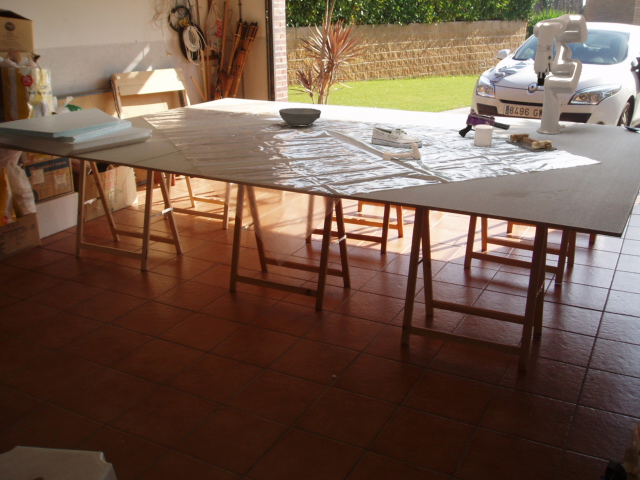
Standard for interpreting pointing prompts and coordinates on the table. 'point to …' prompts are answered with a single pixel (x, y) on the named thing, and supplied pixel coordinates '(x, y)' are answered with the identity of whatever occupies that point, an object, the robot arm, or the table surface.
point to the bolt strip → (528, 146)
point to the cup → (483, 135)
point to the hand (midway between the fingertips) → (540, 85)
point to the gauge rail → (526, 139)
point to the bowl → (299, 115)
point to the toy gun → (481, 123)
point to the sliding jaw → (540, 144)
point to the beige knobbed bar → (415, 154)
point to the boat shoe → (393, 138)
